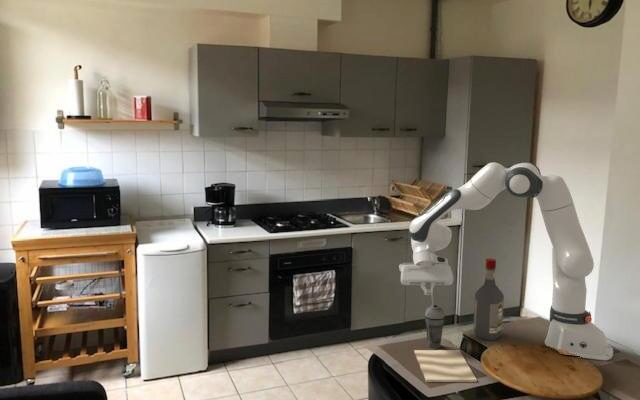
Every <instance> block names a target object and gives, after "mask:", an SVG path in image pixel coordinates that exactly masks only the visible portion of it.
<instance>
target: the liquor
mask: <svg viewBox="0 0 640 400" xmlns="http://www.w3.org/2000/svg"><path fill="white" fill-rule="evenodd" d="M496 267H497V259H495V258H486V259H485V278H484V282H483V283H484V284H482V285H481V286H480V288H478V289H477V290H476V291H475V294H474V308H473V309H474V310H473V311H474V312H473V334H474V335H475V337H477V338H480V339H484V340H486V341H497V340H498V339H499V338H500V337H502V334H503V322H504V321H503V320H504V302H505V301H504V300H505V297H504V295H505V294H504V293H503V292H502V290H501V289H500V288H499V287H498V286H497V285H496V269H497V268H496Z"/></svg>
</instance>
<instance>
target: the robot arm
mask: <svg viewBox="0 0 640 400" xmlns="http://www.w3.org/2000/svg"><path fill="white" fill-rule="evenodd" d="M504 190H507V192H508V193H509V194H510V195H512V196H513V197H514V196H515V197H518V198H532V199H533V198H536V200H537V202H538V206H539V209H540V212H541V216H542V219H543V223H544V226H545V230H546V232H547V234H548V237H549V241H550V242H551V245H552V249H551V258H552V259H551V260H552V261H551V265H552V267H551V271H552V273H551V274H552V299H551V306H550V309H549V327H548V332H547V335H546V337H545V340H544V344H545V345H546V346H547V347H548V346H550V347H554V348H556V349H561V350H564V351H567V352H569V353H572V354H575V355H577V356H580V357H579V358H581V357H582V358H583V359H589V360H591V359H592V360H599V361H609V360H611V359H612V358H613V356H614V349H613V347H612V346H611V345H610V344H608V343H607V342H608V341H607V336H606V334H605V332H604V331H603V330H601V328H599V327H598V326H597V325H595V324H594V323H593V322H592V320H593V319H592V318H593V317H592V312H591V311H588V310H586V303H587V293H588V292H587V284H586V277H588V276H589V275H590V274H591V273H592V272H593V270H594V267H595V265H594V263H595V262H594V258H593V255H592V252H591V250H590V245H589V244H588V242H587V238H586V236H585V234H584V231H583V229H582V226H581V223H580V220H579V217H578V213H577V210H576V207H575V203H574V200H573V197H572V195H571V192H570V189H569V187H568V185H567V183H566V181H565V179H564V178H563V177H561V176H559V175H556V174H553V175H552V174H551V175H550V174H549V175H547V176H546V175H545V176H544V175H542V174H541V171H540V169H539V167H538V166H537V165H536V164H535V163H533V162H530V161H520V162H517V163H514V164H511V165H508V166H507V167H505V166H504V165H502V164H501V163H498V162H494V161H493V162H489V163H487V164H486V165H484V167H482V168H481V169H480V170H478V171H477V172H476V173H475V174H474V175H473V176H472V177H471V178H470V179H469V180H468V181H467V182H466V183H465V184H463V185H461V186H459V187H458V188H454V189H451V190H449V191H448V192H446V193H445V194H444V195H443V196H442V197H440V198H439V199H438V200H437V201H435V202H434V203H433V204H432V205H431V206H429V208H427V209H426V210H425V211H423V212H422V213H421V214H419V215H417V216H416V217H414V218H413V219H412V220H411V221H410V223H409V224H408V225H409V226H408V232H409V236H410V243H411V250H412V252H413V253H412V261H413V262H412V261H411V262H406V261H405V262H402V263H400V264H399V266H398V270H399V272H400V284H401V285H402V286H420V289H422V290H423V293H424V295H425V296H431V294H433V293H434V292H433V291H434V290H433V289H434V288H435V286H451V285H452V284H453V283H454V278H455V277H454V273H453V271H452V267H451V266H450V264H449V259H448V258H446V257H443V256H440V255H437V254H436V252H439V251H442V250H444V249H446V248H448V247H449V246H450V245H451V243H452V242H453V231H452V229H451V228H450V227H449V226H447V225H445V224H443V223H441V222H440V223H439V222H438V221H440V220H441V219H443V217H444V216H446V215H447V214H448V213H450V212H452V211H455V210H469V211H470V210H471V211H477V210H482V209H483V208H486V206H488V205H489V204H490V203H491V202H492V201H493V200H494V199H495V198H496V197H497V195H499V193H501V192H502V191H504ZM426 286H430V288H427V287H426ZM433 295H434V294H433Z"/></svg>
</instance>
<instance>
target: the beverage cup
mask: <svg viewBox="0 0 640 400" xmlns="http://www.w3.org/2000/svg"><path fill="white" fill-rule="evenodd" d="M430 296H431V305H429V306H428V307H427V308H426V310H425V313H424V320H425V328H426V343H427V347H428V348H430V349H431V350H439V349H440V348H441V343H442V335H443V330H444V322H445V318H446V315H445V311H444V310H443V308H442V307H441V306H440V305H437V304H434V294H431V295H430Z"/></svg>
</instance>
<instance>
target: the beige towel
mask: <svg viewBox="0 0 640 400" xmlns="http://www.w3.org/2000/svg"><path fill="white" fill-rule="evenodd" d="M413 352H414V354H415V357H416V361H417V362H418V365H419V368H420V370H421V372H422V375H423V377H424V380H425V382H426V383H455V382H456V383H477V380H478V379H477V378H476V376H475V374H474V372H473V371H472V369H471V368H470V366H469V363H468V362H467V361H466V359H465V357H464V355H463V354H462V352H461V350H460V349H423V350H422V349H414V350H413Z"/></svg>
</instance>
